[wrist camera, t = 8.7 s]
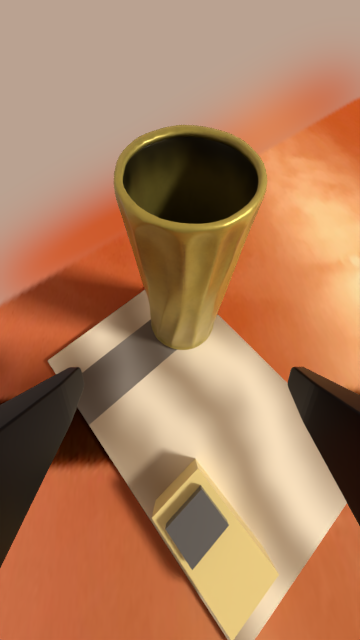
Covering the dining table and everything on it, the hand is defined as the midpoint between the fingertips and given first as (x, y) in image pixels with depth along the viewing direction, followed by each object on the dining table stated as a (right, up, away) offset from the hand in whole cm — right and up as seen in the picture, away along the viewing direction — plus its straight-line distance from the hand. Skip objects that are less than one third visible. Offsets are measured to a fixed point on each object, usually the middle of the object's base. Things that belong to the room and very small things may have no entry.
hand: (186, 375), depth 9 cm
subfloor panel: (+1, -5, +9) cm, 11 cm away
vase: (0, +2, +12) cm, 12 cm away
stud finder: (+2, -12, +6) cm, 14 cm away
